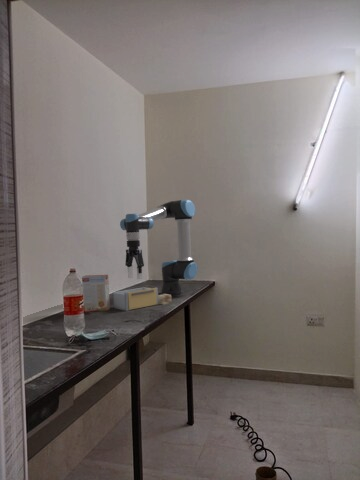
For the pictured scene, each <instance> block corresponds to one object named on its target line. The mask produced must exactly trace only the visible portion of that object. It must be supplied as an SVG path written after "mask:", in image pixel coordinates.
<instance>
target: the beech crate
mask: <svg viewBox="0 0 360 480" xmlns="http://www.w3.org/2000/svg"><path fill="white" fill-rule="evenodd" d="M172 298H173V297H172V295H169V294H161V293H160V294H158V302H159V305H168V304H172Z"/></svg>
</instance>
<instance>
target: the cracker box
mask: <svg viewBox="0 0 360 480" xmlns="http://www.w3.org/2000/svg"><path fill="white" fill-rule="evenodd" d="M81 279H82V280H81V281H82V282H81V283H82V295H83V294H84V302H83V312H84V311H85V312H84V313H93V312H95V311H99V312H100V311H101V312H103V311H106V312H107V311H108V310H110V309H111V301H110V286H109V285H110V283H109V274H90V275H83V276H81Z"/></svg>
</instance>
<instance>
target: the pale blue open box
mask: <svg viewBox="0 0 360 480" xmlns="http://www.w3.org/2000/svg"><path fill="white" fill-rule="evenodd" d="M155 288H156V294H157V304H156V305H155V306H158V305H160V304H159V302H158V295H159V289H158V287H155ZM146 289H152V288H150V287H138V288H133V289H132V288H131V289H125V290H120V291H119V290H118V291H113V292H112V302H113V303H112V305H113V308H112V309H118V310H120V311H121V310H122V311H125V312H128V311H131V310H132V311H133V309H130V310H129V308H128V292H134V291H140V290H146ZM153 306H154V305H151V306H150V307H153ZM146 307H149V306H145V307H140V308H135V309H134V310H136V309H142V308H146Z"/></svg>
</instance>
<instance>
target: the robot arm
mask: <svg viewBox="0 0 360 480" xmlns="http://www.w3.org/2000/svg"><path fill="white" fill-rule="evenodd" d="M195 214H196V206H195V204H194V203H193V201H191V200H190V199H180V200H178V199H177V200H172V201H171V200H170V201H168V202H165V203H163V204H160V205H158V206H157V207H155V208H153V209H151V210H147V211H145V212H142V213H139V214H138V213H127V214H126V215H125V218H122V219H121V221H120V222H119V225H120V226H119V227H120V229H122V230H123V231H125V232H126V247H127V248H128V249H125V264H124V265H125V267H126V266H127V273H128V279H131V278H132V279H133V278H134V271H133V270H134V269H133V261H134V260H135V263H136V266H137V267H136V279H137V280H141V279H143V267H144V266H145V263H144V258H143V250H142V249H139V247H140V245H141V241H140V231H142V230H151V229H152V228H154V226H155V225H154V222H156V221H158V220H165V219H174V221H175V222H176V223H177V244H178V245H177V246H178V247H177V248H178V258H177V259H176V260H170V261H169V260H168V261H163V262H162V264H161V273H162V274H161V277H162V285H161V289H160V295H161V294H169V295H171V296H175V295H181V294H182V293H183V289H182V286H181V283H180V280H186V281H187V280H191V281H192V280H193V279H195V278H196V277H197V275H198V271H199V270H198V264H197V263H196V262H195V260H194V258H193V257H192V242H191V241H192V240H191V221H192V220H193V217H194V215H195Z"/></svg>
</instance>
